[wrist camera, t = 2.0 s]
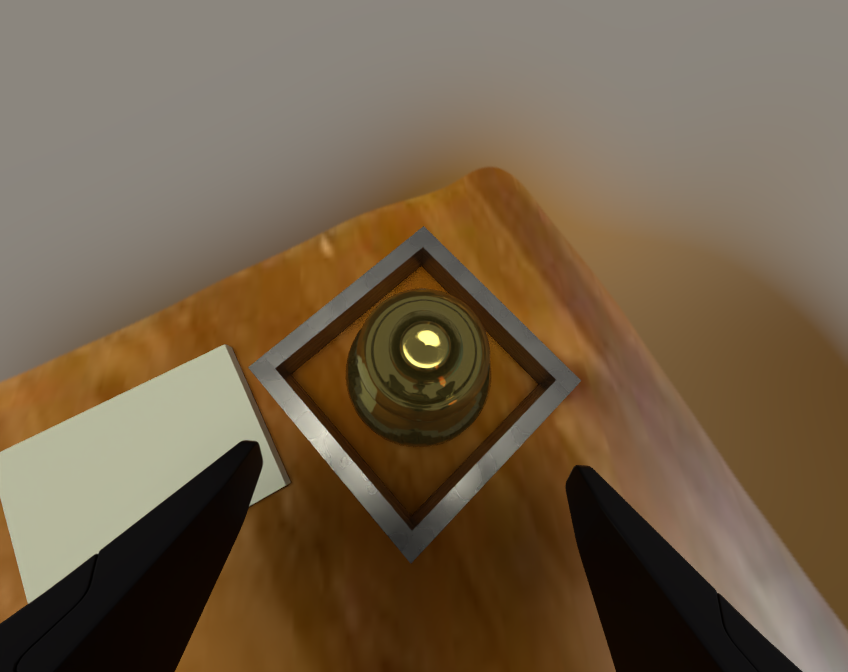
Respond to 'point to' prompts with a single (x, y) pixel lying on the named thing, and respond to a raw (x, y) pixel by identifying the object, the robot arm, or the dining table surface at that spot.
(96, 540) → the tile
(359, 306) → the grey square frame
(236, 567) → the dining table surface
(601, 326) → the dining table surface
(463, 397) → the brass rounded piece
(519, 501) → the dining table surface
